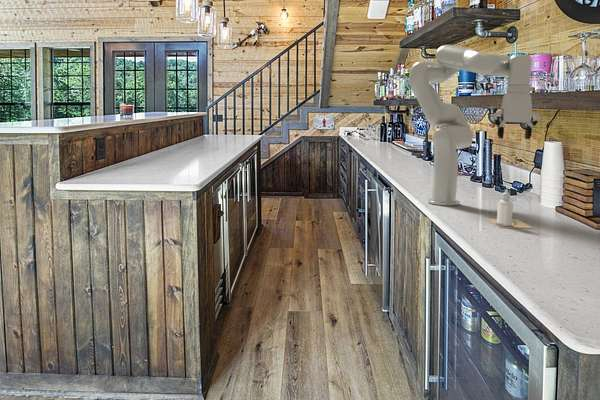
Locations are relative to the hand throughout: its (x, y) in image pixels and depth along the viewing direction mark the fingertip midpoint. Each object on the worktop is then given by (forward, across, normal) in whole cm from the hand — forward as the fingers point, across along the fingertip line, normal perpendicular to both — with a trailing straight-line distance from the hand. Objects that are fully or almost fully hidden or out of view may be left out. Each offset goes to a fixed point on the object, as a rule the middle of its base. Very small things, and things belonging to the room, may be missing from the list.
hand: (514, 138), depth 216 cm
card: (+28, +5, +16) cm, 33 cm away
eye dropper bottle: (+28, +8, +20) cm, 35 cm away
